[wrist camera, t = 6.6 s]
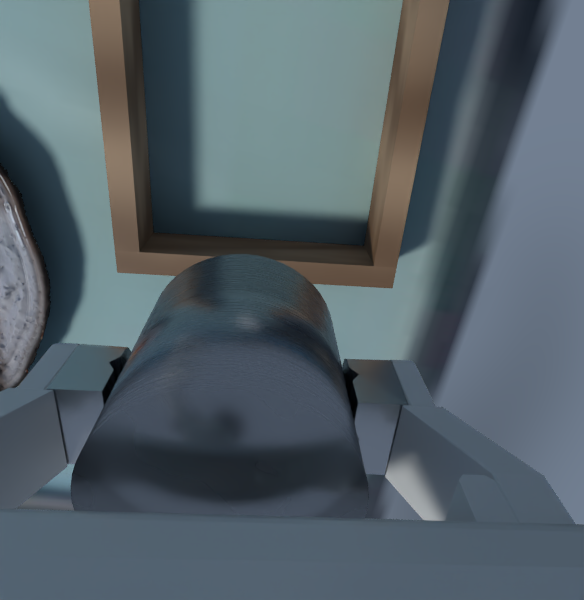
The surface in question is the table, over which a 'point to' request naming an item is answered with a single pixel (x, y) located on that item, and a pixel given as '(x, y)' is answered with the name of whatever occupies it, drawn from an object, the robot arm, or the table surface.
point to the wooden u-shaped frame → (298, 255)
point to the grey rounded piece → (229, 404)
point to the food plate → (19, 288)
